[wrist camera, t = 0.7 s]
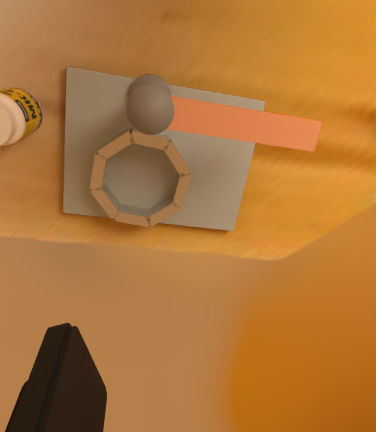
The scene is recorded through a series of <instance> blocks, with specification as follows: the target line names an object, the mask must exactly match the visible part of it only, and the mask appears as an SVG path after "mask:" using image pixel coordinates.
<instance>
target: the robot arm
mask: <svg viewBox="0 0 376 432" xmlns="http://www.w3.org/2000/svg"><path fill="white" fill-rule="evenodd" d="M106 401H107V393H106V387H105V385H104V383H103V381H102V378H101V376H100V374H99V372H98V370H97V368H96V366H95V363H94V361H93V359H92V357H91V355H90V353H89V351H88V348H87V346H86V344H85V342H84V340H83V338H82V336H81V334H80V332H79V329H78V328H77V327H76V326H73V327H72V326H71V325H70V324H69V323H65V324H61V325H57V326H53V327H49V328H48V329H47V331H46V334H45V336H44V339H43V342H42V345H41V347H40V350H39V352H38V355H37V357H36V360H35V363H34V365H33V368H32V371H31V373H30V376H29V379H28V381H27V382H25V383H24V385H23V387H22V389H21V391H20V394H19V397H18V399H17V402H16V405H15V407H14V410H13V412H12V415H11V417H10V420H9V422H8V425H7V428H6V430H5V432H103V428H104V419H105V411H106Z"/></svg>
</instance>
